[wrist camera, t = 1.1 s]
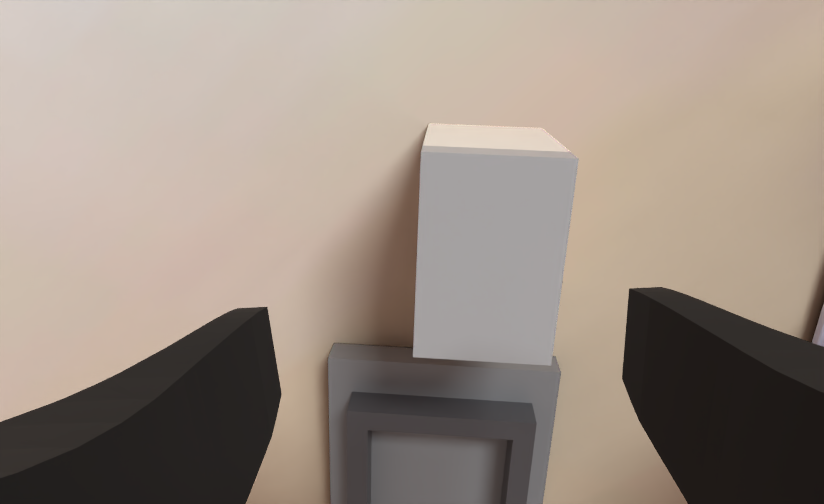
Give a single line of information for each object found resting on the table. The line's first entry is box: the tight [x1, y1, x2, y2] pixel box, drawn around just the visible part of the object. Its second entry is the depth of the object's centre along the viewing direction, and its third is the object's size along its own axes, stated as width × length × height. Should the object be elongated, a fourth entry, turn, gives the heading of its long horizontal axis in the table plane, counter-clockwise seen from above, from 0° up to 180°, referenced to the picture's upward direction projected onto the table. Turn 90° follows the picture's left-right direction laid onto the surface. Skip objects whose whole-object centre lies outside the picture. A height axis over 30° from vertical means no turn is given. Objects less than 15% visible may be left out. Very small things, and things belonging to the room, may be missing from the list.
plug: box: [413, 123, 579, 366], centre depth 18 cm, size 4×6×6 cm, turn 178°
